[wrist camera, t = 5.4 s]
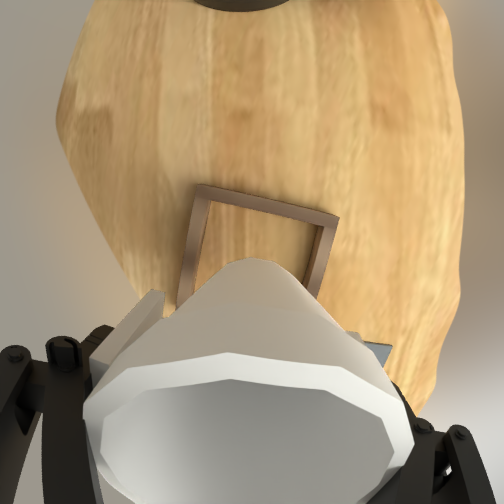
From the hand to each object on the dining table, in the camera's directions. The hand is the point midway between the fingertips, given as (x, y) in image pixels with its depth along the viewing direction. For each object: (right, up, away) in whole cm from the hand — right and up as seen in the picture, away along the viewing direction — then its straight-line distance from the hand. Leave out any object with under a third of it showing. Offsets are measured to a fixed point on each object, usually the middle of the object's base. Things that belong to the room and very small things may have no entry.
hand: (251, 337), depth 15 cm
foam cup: (0, +1, +4) cm, 4 cm away
